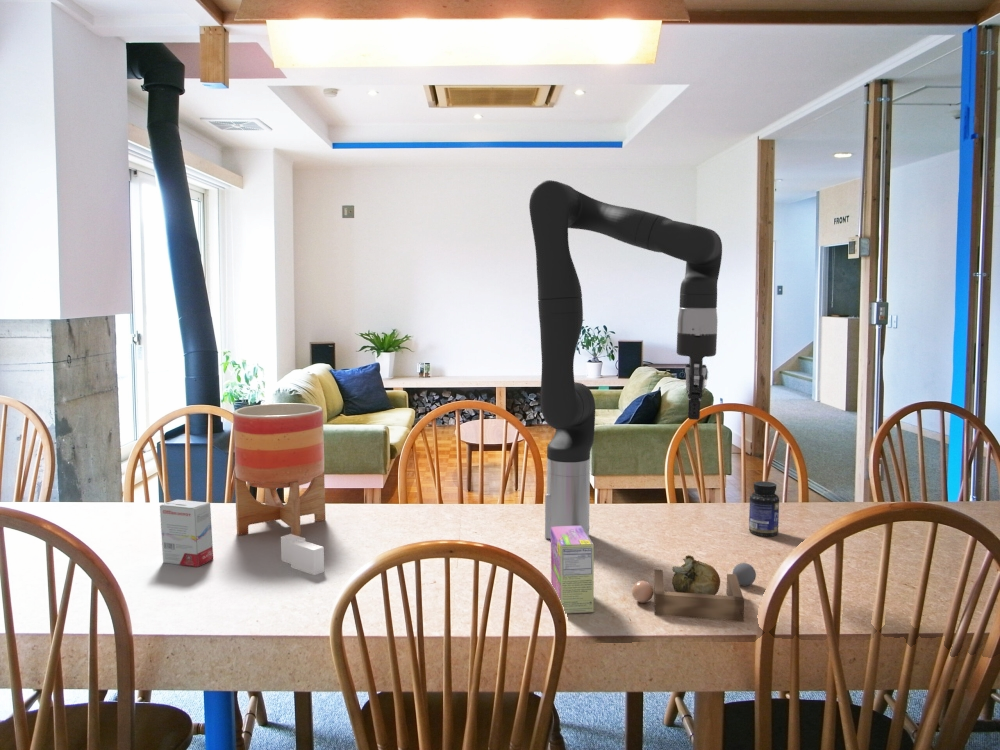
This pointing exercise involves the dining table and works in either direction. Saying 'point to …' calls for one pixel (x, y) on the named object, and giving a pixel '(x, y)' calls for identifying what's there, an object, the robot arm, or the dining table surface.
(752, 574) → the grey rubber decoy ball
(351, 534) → the dining table surface
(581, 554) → the box
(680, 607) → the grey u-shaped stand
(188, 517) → the ink box
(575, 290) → the robot arm
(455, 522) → the dining table surface
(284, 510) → the planter
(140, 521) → the dining table surface
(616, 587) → the dining table surface
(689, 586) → the onion
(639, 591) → the glossy pink ball
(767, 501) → the pill bottle
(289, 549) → the white stepped block
